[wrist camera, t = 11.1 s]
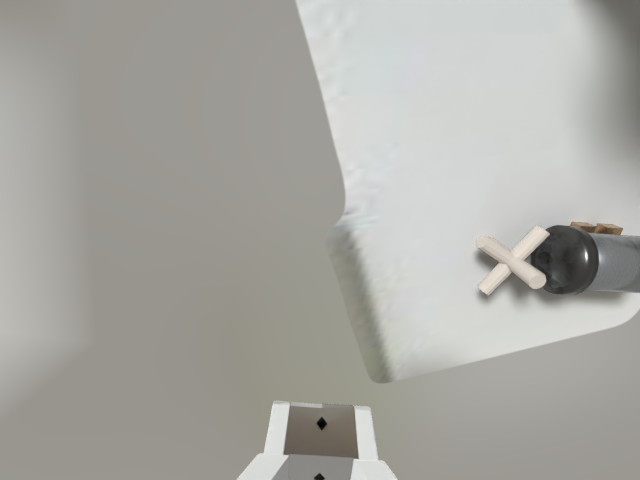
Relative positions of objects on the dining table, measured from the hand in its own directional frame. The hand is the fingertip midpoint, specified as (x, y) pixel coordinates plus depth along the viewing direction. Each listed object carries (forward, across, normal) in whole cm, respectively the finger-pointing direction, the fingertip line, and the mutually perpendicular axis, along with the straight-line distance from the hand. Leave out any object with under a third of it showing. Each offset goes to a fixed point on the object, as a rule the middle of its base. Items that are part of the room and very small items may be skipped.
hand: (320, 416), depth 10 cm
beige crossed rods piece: (+33, -23, +6) cm, 41 cm away
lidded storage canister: (+33, -34, +6) cm, 48 cm away
